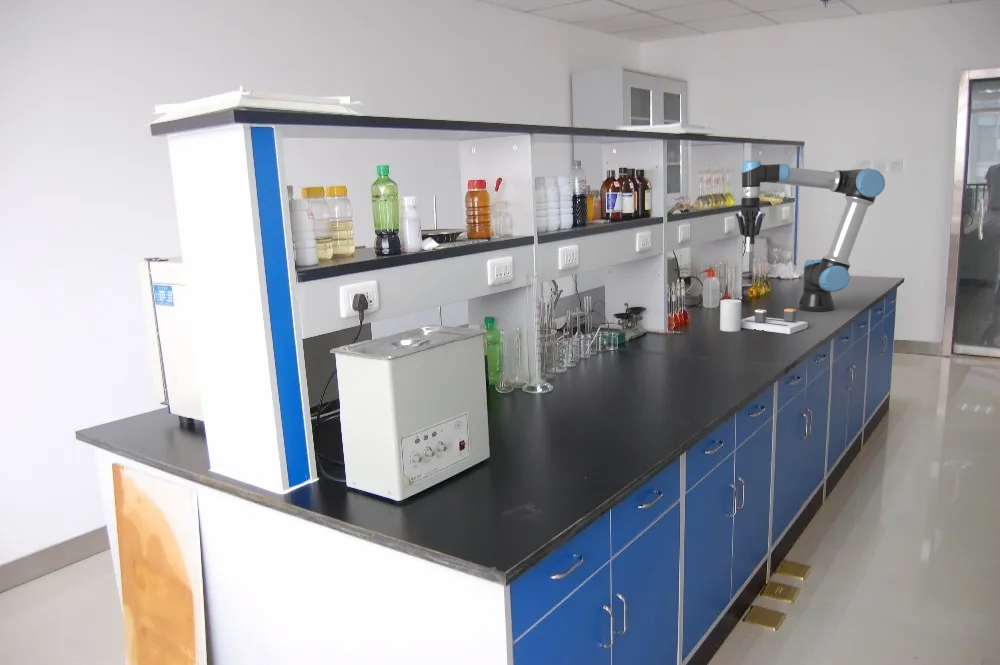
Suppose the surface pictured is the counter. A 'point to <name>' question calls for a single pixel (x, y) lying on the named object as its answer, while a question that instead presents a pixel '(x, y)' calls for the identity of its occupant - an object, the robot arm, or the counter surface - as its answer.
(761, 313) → the fader cream
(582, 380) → the counter surface
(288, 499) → the counter surface
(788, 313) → the fader orange
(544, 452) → the counter surface
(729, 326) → the cup
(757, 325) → the panel
